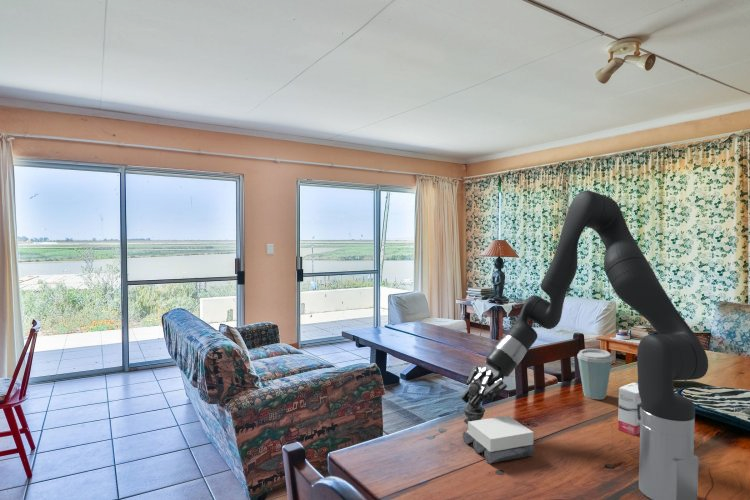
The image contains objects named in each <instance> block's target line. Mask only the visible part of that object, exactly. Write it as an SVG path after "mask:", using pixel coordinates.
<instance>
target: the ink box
mask: <svg viewBox="0 0 750 500" xmlns="http://www.w3.org/2000/svg"><path fill="white" fill-rule="evenodd" d="M617 421H618V422H617V423H618V424H617V429H618V430H619V431H622V432H624V433H626V434H627V433H628V434H629V435H632V436H637V435H640V421H641V398H640V395H639V391H638V382H631V383H629V384H625V385H622V386H620V387H619V388H618V415H617Z"/></svg>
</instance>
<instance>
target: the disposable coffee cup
mask: <svg viewBox="0 0 750 500" xmlns="http://www.w3.org/2000/svg"><path fill="white" fill-rule="evenodd" d="M576 357H577V361H578V369H579V373H580V375H579V376H580V379H581V380H580V381H581V384H582V385H581V386H582V393H583V394H584V396H585V397H586V398H588V399H592V400H604V399H605V398H606V397H607V393H608V392H607V391H608V386H609V380H610V375H611V368H612V362H613V356H612V355H611V352H609V351H608V350H604V349H600V348H584V349H581V350H579V351H578V353H577V356H576Z"/></svg>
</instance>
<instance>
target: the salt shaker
mask: <svg viewBox="0 0 750 500" xmlns="http://www.w3.org/2000/svg"><path fill="white" fill-rule="evenodd" d="M472 381H474V382H471V383H470V384H469V385H468V387H469V394H468V397H469V401H468V403H467V405H465V406H464V407H463V409H462V410H463V412H464V415H465V416H466V418H465V419H464V420H463V422H464V424H465V425H467V426H468V422H469V421H476V420H482V419H483V418H484V416H485V412H486V409H485V407H482V406H481V403H480V404H479V406H478V407H477V408H476V409H474V408H473V407H472V406H471V405H470V404H469V403H470V401H471V400H472V399H473V397H474V396H475V395H476V394H477V393H478V394H479V390H480V385H479V384H478V383H477V382H475V381H476V380H475V379H474V380H473V379H472Z"/></svg>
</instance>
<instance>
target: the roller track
mask: <svg viewBox="0 0 750 500" xmlns="http://www.w3.org/2000/svg"><path fill="white" fill-rule="evenodd" d="M462 439H463V443H465V444H466V445H469V444H472V447H473V450H474V452H475V453H476V454H481V453H483V455H484V460H485V461H486V462H487V464H493V463H494V464H495V463H500V462H504V461H506V462H507V461H511V460H516V459H520V458H526V457H532V456H534V455H535V453H536V452H535V447H534V444H533V445H527V446H521V447H516V448H510V449H505V450H499V451H493V452H490V451H489V450H487V449H486V448H485V447H484V446H483V445H481V444H480V443H479V442H478V441H477V440H475V439H474V438H473V437H472V436H471V435H469V434H468V430H465V431H463V432H462Z"/></svg>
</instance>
